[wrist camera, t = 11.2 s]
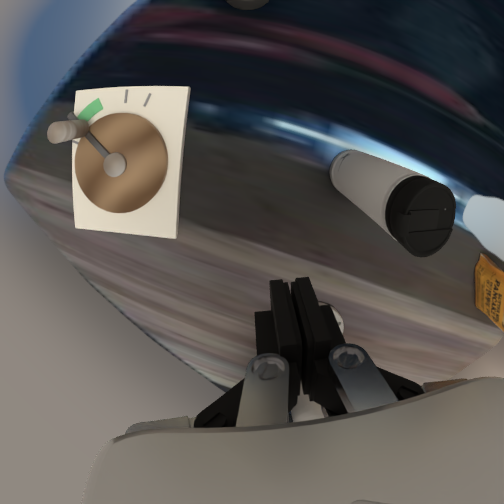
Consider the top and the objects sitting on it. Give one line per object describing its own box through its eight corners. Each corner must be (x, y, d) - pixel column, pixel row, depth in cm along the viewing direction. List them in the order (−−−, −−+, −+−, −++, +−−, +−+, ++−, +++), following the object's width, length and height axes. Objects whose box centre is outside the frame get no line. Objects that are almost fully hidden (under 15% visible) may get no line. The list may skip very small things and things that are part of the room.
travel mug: (326, 149, 35) (403, 183, 17) (371, 149, 35) (468, 185, 17) (326, 195, 38) (394, 265, 20) (370, 193, 38) (456, 257, 20)
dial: (189, 162, 34) (174, 174, 27) (124, 228, 37) (100, 254, 30) (107, 76, 28) (75, 70, 21) (51, 149, 32) (16, 159, 24)
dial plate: (178, 234, 40) (175, 239, 38) (80, 224, 38) (74, 228, 37) (190, 88, 31) (188, 86, 30) (81, 91, 30) (75, 90, 28)
